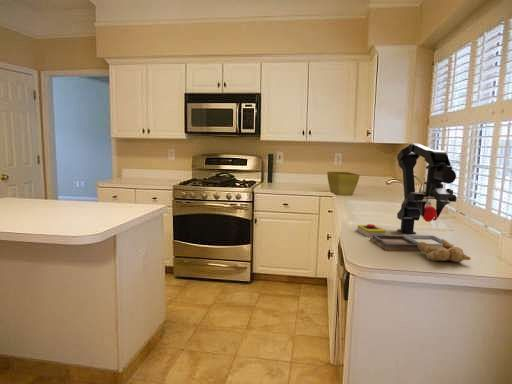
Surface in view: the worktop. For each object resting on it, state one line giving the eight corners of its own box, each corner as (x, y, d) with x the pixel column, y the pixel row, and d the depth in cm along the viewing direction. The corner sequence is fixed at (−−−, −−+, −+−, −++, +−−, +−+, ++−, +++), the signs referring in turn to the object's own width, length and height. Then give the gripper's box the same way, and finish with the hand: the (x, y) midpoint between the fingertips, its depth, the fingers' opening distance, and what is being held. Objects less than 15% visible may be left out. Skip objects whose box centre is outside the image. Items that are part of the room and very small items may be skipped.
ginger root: (475, 266, 128) (471, 243, 128) (425, 271, 133) (421, 249, 133) (463, 255, 143) (460, 234, 143) (419, 259, 148) (416, 239, 148)
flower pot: (358, 195, 292) (360, 174, 290) (337, 196, 287) (338, 174, 284) (345, 192, 310) (347, 172, 308) (325, 192, 304) (326, 171, 302)
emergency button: (373, 221, 181) (390, 229, 166) (372, 230, 181) (389, 239, 167) (355, 221, 179) (371, 229, 164) (354, 230, 180) (370, 239, 165)
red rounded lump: (421, 210, 165) (418, 204, 161) (436, 207, 162) (433, 201, 158) (424, 226, 161) (422, 221, 157) (439, 224, 159) (437, 218, 154)
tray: (402, 237, 168) (403, 234, 168) (433, 238, 170) (433, 235, 169) (420, 247, 154) (420, 243, 154) (453, 248, 155) (453, 244, 155)
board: (370, 240, 162) (370, 234, 161) (403, 240, 163) (403, 235, 163) (385, 250, 147) (385, 244, 146) (421, 251, 148) (422, 245, 148)
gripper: (423, 182, 149) (419, 220, 151) (467, 183, 151) (462, 221, 153) (409, 178, 160) (405, 214, 162) (450, 180, 162) (446, 215, 164)
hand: (429, 216), depth 160 cm, fingers closed on red rounded lump, 6 cm apart
